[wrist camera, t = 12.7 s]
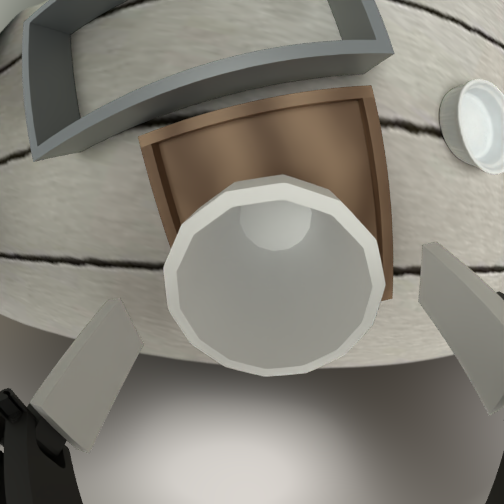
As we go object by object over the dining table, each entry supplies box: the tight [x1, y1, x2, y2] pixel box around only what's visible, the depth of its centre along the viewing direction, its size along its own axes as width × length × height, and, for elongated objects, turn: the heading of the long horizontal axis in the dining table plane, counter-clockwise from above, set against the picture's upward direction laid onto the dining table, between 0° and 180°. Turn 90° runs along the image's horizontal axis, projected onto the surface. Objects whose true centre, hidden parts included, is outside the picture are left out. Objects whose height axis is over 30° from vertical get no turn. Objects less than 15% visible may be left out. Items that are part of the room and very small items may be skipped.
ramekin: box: [439, 79, 504, 175], centre depth 17 cm, size 9×9×4 cm
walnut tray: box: [138, 85, 393, 301], centre depth 23 cm, size 19×19×2 cm
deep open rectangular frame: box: [22, 0, 394, 162], centre depth 14 cm, size 28×16×7 cm, turn 103°
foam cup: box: [163, 174, 386, 377], centre depth 17 cm, size 10×9×13 cm
